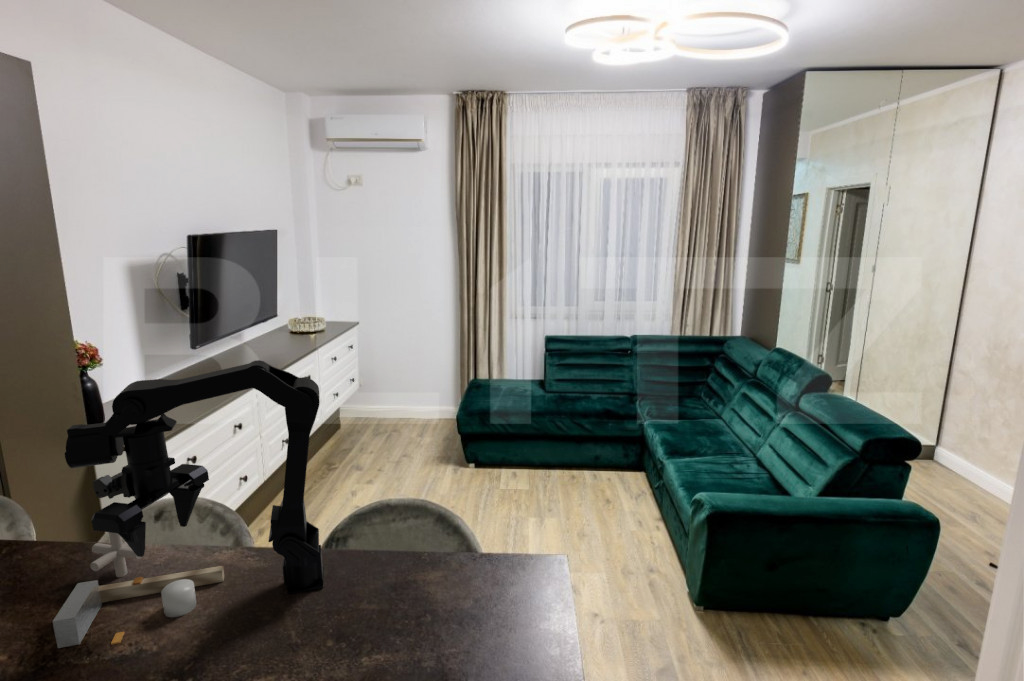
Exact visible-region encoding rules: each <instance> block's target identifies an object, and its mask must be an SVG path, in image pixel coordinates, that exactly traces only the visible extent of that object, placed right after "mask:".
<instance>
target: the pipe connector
mask: <svg viewBox="0 0 1024 681" xmlns="http://www.w3.org/2000/svg"><path fill="white" fill-rule="evenodd" d="M108 534H109V536H108V537H109V541H110V544H108V543H102V542H101V543H100V542H99V543H98V542H96V543H95V544H93V545H92V547H91V552H92V553H94V554H97V555H98V554H99V555H102V556H100V557H98V558H97V559H96V560H93V561H92V562H91V563H90V564H89V565H90V569H91V570H92V571H94V572H98V571H99V570H101V569H103V568H104V567H106V565H109V564H110V563H112V562H113V565H114V571H115V576H116V578H122V577H125V576H126V575H128V568H127V563H126V562H127V561H126V558H128V559H134V560H140V559H142V558H143V557H139V556H137V555H136V554H135V553H134V552H133V550H132V549H131V548H130V547H129V545H128V544H127V543H126V541H125V540H124V541H123V538H122V537H121V536H120V535H119V534H118V533H111V532H108Z"/></svg>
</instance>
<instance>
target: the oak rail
mask: <svg viewBox="0 0 1024 681" xmlns="http://www.w3.org/2000/svg"><path fill="white" fill-rule="evenodd" d="M224 569H225V568H224V565H219V566H211V567H206V568H201V569H200V568H199V569H195V570H188V571H182V572H175V573H170V574H169V573H168V574H164V575H163V574H162V575H158V576H152V577H151V576H150V577H146V578H144V577H143V576H139V577H135V578H134V580H132V579H131V580H127V581H120V582H117V583H116V582H115V583H109V584H103V585H99V590H100V596H101V602H102V603H107V602H113V601H118V600H124V599H130V598H135V597H142V596H149V595H154V594H159V593H160V594H161V591H162V589H163V588H164V587H165V586H167V585H168V584H170V583H172V582H174V581H177V580H182V579H189V580H192V581H193V582H194V588H195V587H199V586H204V585H205V586H206V585H212V584H216V583H217V584H218V583H221V582H222V583H223V582H224V579H225V570H224Z"/></svg>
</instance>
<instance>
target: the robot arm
mask: <svg viewBox="0 0 1024 681" xmlns="http://www.w3.org/2000/svg"><path fill="white" fill-rule="evenodd" d="M250 389H254V390H256V391H259V392H260V393H261V394H263V395H264V396H266V397H267V398H269V399H270V400H271V401H273V402H274V403H276V404H277V405H279V406H282V407H283V408H284V413H285V421H286V426H287V432H288V438H287V447H286V448H287V449H286V459H285V461H286V462H285V471H284V472H285V473H284V481H283V494H282V500H281V502H280V505H275V504H273V505H272V507H271V508H272V509H271V516H270V521H269V522H270V528H269V536H268V543H272V549H273V551H274V552H276V553H277V554H278V555H280V556H282V557H283V558H284V559H283V561H282V575H283V576H282V577H283V585H284V586H285V587H286V594H287V595H292V594H297V593H303V592H308V591H314V590H320V589H323V588H324V585H325V582H324V578H325V577H324V576H325V575H324V573H325V572H324V570H325V567H324V566H323V556H322V545H321V544H320V533H319V532H320V531H319V530H320V529H319V527H317V526H315V525H313V524H312V523H310V522H309V521H307V512H306V511H307V510H306V505H305V490H306V489H305V488H306V479H307V470H308V469H307V468H308V458H309V448H310V447H309V445H310V435H311V432H312V429H313V427H314V424H315V422H316V418H317V415H318V411H319V408H320V404H321V403H320V402H321V401H320V387H319V385H318V383H317V382H316V381H315V380H313V379H311V378H309V377H305V376H304V377H299V376H297V375H295V374H293V373H291V372H289V371H286V370H283V369H281V368H277V367H275V366H272V365H271V364H270V363H267V362H265V361H264V360H260V359H259V360H253V361H251V362H248V363H246V364H240V365H238V366H237V365H236V366H232V367H229V368H224V369H219V370H216V371H211V372H205V373H201V374H198V375H193V376H188V377H185V378H180V379H164V378H158V379H155V378H154V379H145V380H144V379H143V380H142V379H141V380H136V381H134V382H131V383H129V384H128V385H127V386H126V387H125V388H124V389H122V390H121V391H120V392H119V393H118V394H117V395H116V396H115V398H114V399H113V401H112V405H111V410H112V413H113V414H112V415H111V416H110V417H109V419H108V420H106V421H105V422H100V423H91V424H82V423H81V424H73V425H71V426H70V427H69V428H68V429H67V430H66V433H67V438H66V442H65V452H64V459H65V463H66V464H67V466H68V467H69V468H70V469H77V468H84V467H91V466H99V465H100V466H101V465H107V464H114V463H115V462H116V461H117V459H118V457H119V456H122V455H123V454H124V451H125V457H126V461H127V465H124V466H122V467H121V471H120V472H119V473H116V474H114V475H112V476H110V474H106V475H104V476H101V477H98V478H96V479H95V480H93V481H92V485H93V486H92V487H93V491H94V493H95V495H96V497H97V498H98V499H103V498H106V497H108V499H113V498H115V497H116V496H118V495H123V498H129V499H130V498H131V497H133V498H134V499H133V500H132V501H130V502H128V503H124V502H117V501H116V502H115V501H114V502H112V503H110V504H108V505H107V506H105V507H103V508H101V509H100V510H97V511H95V512H94V514H93V515H92V516H91V524H92V530H93V531H97V532H104V533H109V532H111V533H118V534H119V535H120V536H121V537H122V540H124V542H125V541H126V543H127V544H128V545H129V547H130V548H131V549H132V550H133V552H134V553H135V554H136V555H137V556H139V557H142V558H143V557H144V556H145V551H146V528H147V525H146V524H147V522H146V521H142V520H143V518H144V512H143V510H144V509H146V508H147V507H149V506H151V505H152V504H154V503H155V502H157V501H159V500H160V499H162V498H164V497H166V496H167V495H168V494H170V495H171V497H172V498H173V502H174V505H175V506H174V507H175V512H176V517H177V520H178V523H179V524H178V525H179V526H180V527H183V528H184V527H187V526H188V523H189V520H190V518H191V516H192V513H193V510H194V508H195V504H196V502H197V500H198V498H199V495H200V494H201V492H202V489H203V488H205V483H206V482H208V481H209V480H210V478H209V477H210V476H209V472H208V469H207V468H206V467H205V466H204V465H199V464H189V463H187V464H186V463H182V464H180V465H177V467H176V466H175V468H173V469H171V466H173V465H175V464H176V459H175V457H169V455H168V449H167V442H166V437H165V432H172V431H173V429H174V427H175V426H176V425H177V422H178V420H175V419H174V418H171V417H170V416H167V415H166V413H168V412H170V411H172V410H174V409H175V408H178V407H181V406H184V405H187V404H193V403H196V402H201V401H205V400H208V399H213V398H217V397H220V396H225V395H230V394H233V393H239V392H241V391H245V390H250ZM155 418H156V419H155ZM131 425H132V426H131Z"/></svg>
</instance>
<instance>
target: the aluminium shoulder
mask: <svg viewBox="0 0 1024 681" xmlns="http://www.w3.org/2000/svg"><path fill="white" fill-rule="evenodd" d="M99 586H100V585H99V580H98V579H97V580H90V581H84V582H78V583H77V584H76V585H75V587H74V589H73V590H72V591H71V593H70V594H69V596H68V597H67V599H66V600H65V602H64V603H63V605H62V606H61V608H60V609H59V611H58V613H57V614H56V616H55V617H54V618H53V620H52V626H53V631H54V636H55V641H56V645H57V649H61V648H66V647H67V648H68V647H72V646H77V645H81V643H82V642H83V640H84V638H85V635H87V632H88V630H89V629H90V628H91V625H92V623H93V621H94V620H95V618H96V616H97V615H98V613H99V611H100V609H101V608H102V606H103V602H101V596H100V590H99Z"/></svg>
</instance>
